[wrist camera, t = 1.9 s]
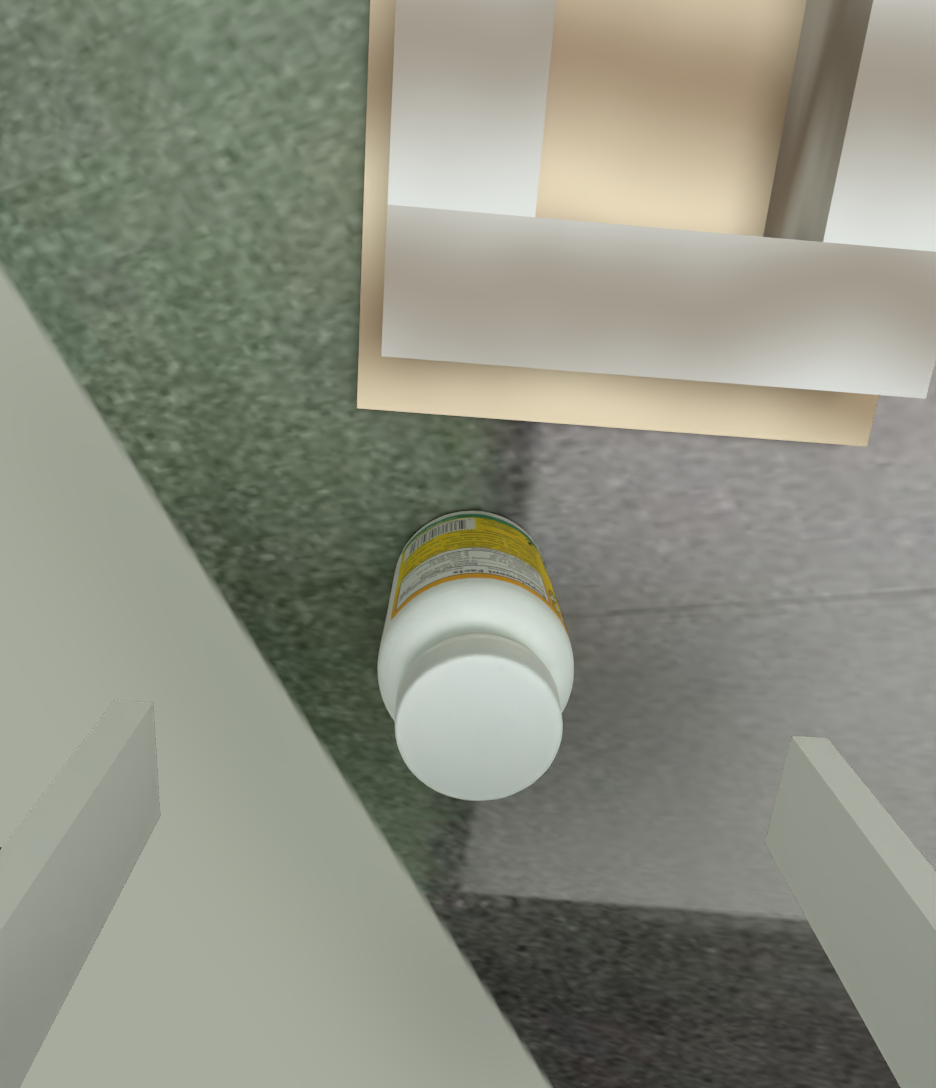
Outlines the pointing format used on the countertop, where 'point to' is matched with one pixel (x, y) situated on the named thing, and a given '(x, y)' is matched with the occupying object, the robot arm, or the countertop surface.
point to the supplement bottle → (475, 658)
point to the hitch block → (650, 213)
